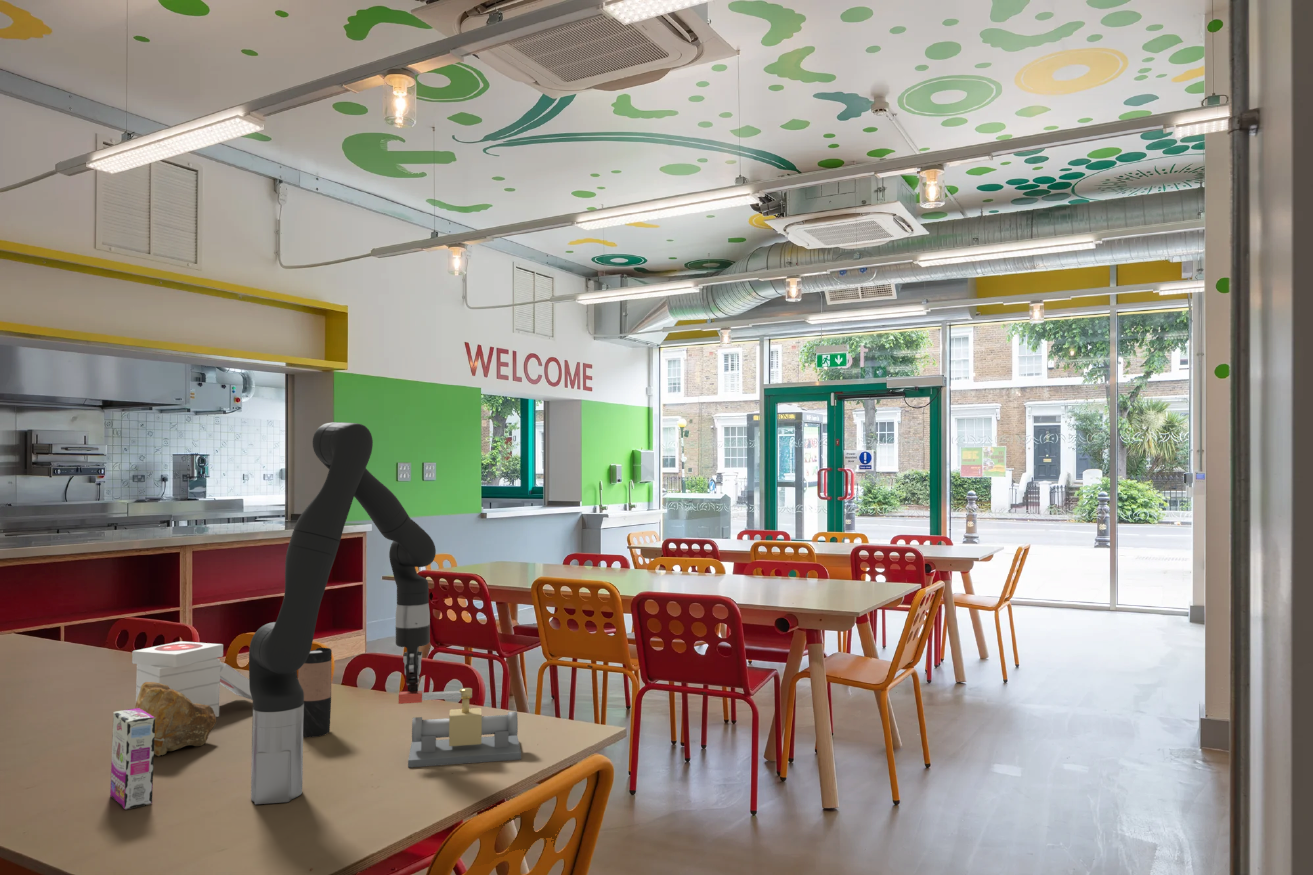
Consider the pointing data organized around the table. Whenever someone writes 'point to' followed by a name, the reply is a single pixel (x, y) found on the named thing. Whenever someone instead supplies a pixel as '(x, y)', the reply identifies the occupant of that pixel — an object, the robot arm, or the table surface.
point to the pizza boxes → (190, 671)
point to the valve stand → (464, 738)
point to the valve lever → (433, 695)
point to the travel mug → (316, 692)
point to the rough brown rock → (175, 717)
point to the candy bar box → (132, 758)
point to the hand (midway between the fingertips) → (412, 700)
